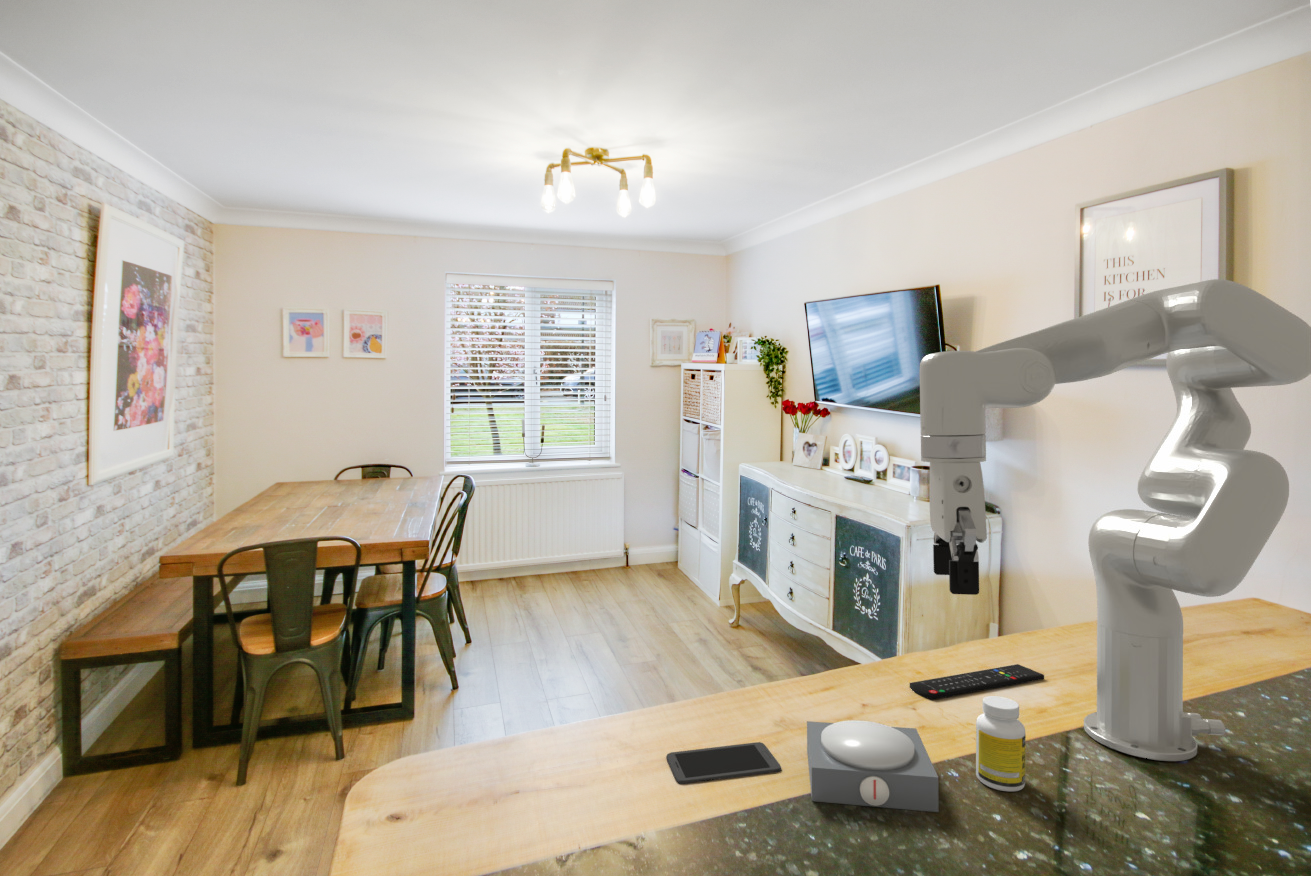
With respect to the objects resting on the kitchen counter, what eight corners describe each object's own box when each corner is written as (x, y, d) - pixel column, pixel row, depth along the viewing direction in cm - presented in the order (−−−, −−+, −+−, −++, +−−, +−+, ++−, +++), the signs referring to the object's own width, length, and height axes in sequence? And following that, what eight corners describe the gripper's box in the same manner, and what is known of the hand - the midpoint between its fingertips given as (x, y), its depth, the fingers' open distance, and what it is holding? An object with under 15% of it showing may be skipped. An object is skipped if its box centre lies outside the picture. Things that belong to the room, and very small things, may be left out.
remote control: (1044, 682, 112) (1044, 674, 112) (929, 704, 104) (929, 695, 104) (1017, 671, 117) (1017, 663, 117) (906, 691, 109) (906, 683, 109)
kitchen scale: (916, 758, 86) (916, 722, 86) (939, 815, 74) (939, 773, 74) (807, 750, 89) (806, 715, 89) (812, 803, 76) (811, 763, 76)
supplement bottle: (1032, 795, 78) (1032, 713, 77) (982, 790, 79) (982, 709, 78) (1016, 771, 83) (1016, 694, 83) (970, 767, 84) (970, 691, 84)
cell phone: (783, 773, 84) (783, 768, 84) (677, 787, 81) (677, 781, 81) (763, 746, 91) (763, 740, 91) (664, 758, 88) (664, 752, 88)
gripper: (1005, 452, 74) (1007, 603, 75) (967, 445, 91) (969, 568, 91) (934, 454, 76) (937, 601, 76) (910, 446, 93) (912, 567, 93)
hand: (955, 583), depth 84 cm, fingers open, 9 cm apart
